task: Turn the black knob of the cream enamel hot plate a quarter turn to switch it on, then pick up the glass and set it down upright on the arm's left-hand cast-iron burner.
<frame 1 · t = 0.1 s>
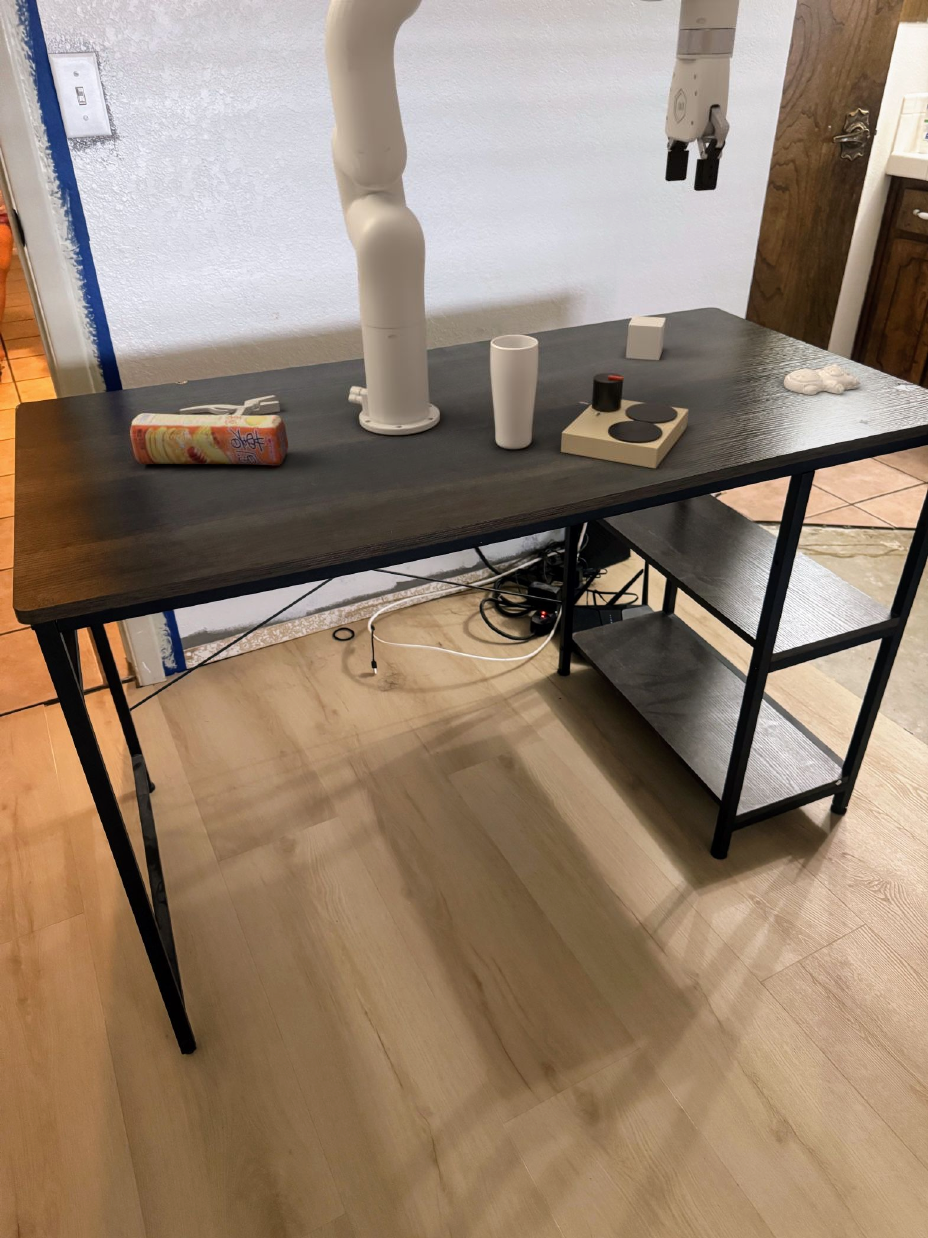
hand: (689, 184, 128), 31 cm above the table, tool pointing down, fingers open, 9 cm apart
snack package: (214, 461, 127), on the table
hot plate: (625, 439, 130), on the table
drinking glass: (513, 444, 129), on the table
burner 2: (649, 433, 131), resting on hot plate
pliers: (232, 416, 141), on the table
white cube: (644, 355, 163), on the table
hob knob: (607, 391, 131), point 5 cm above the table, hinge at 0.0°
astronaut figurine: (820, 387, 147), on the table
burner 1: (633, 452, 126), resting on hot plate
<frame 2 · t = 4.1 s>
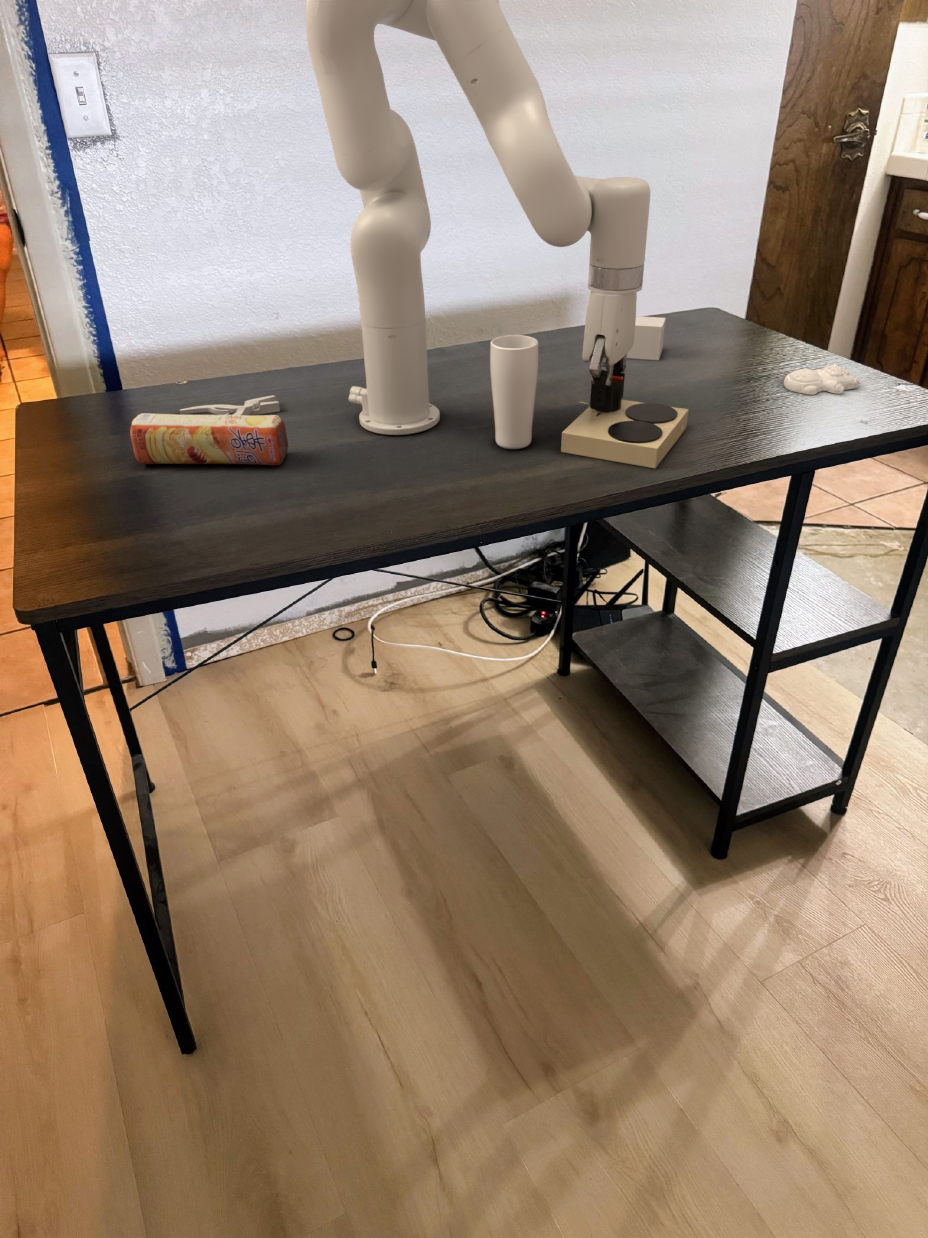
hand: (606, 402, 132), 4 cm above the table, tool pointing down, fingers closed on hob knob, 4 cm apart
hob knob: (607, 391, 131), point 5 cm above the table, hinge at 0.0°, touching gripper
everything else where it was.
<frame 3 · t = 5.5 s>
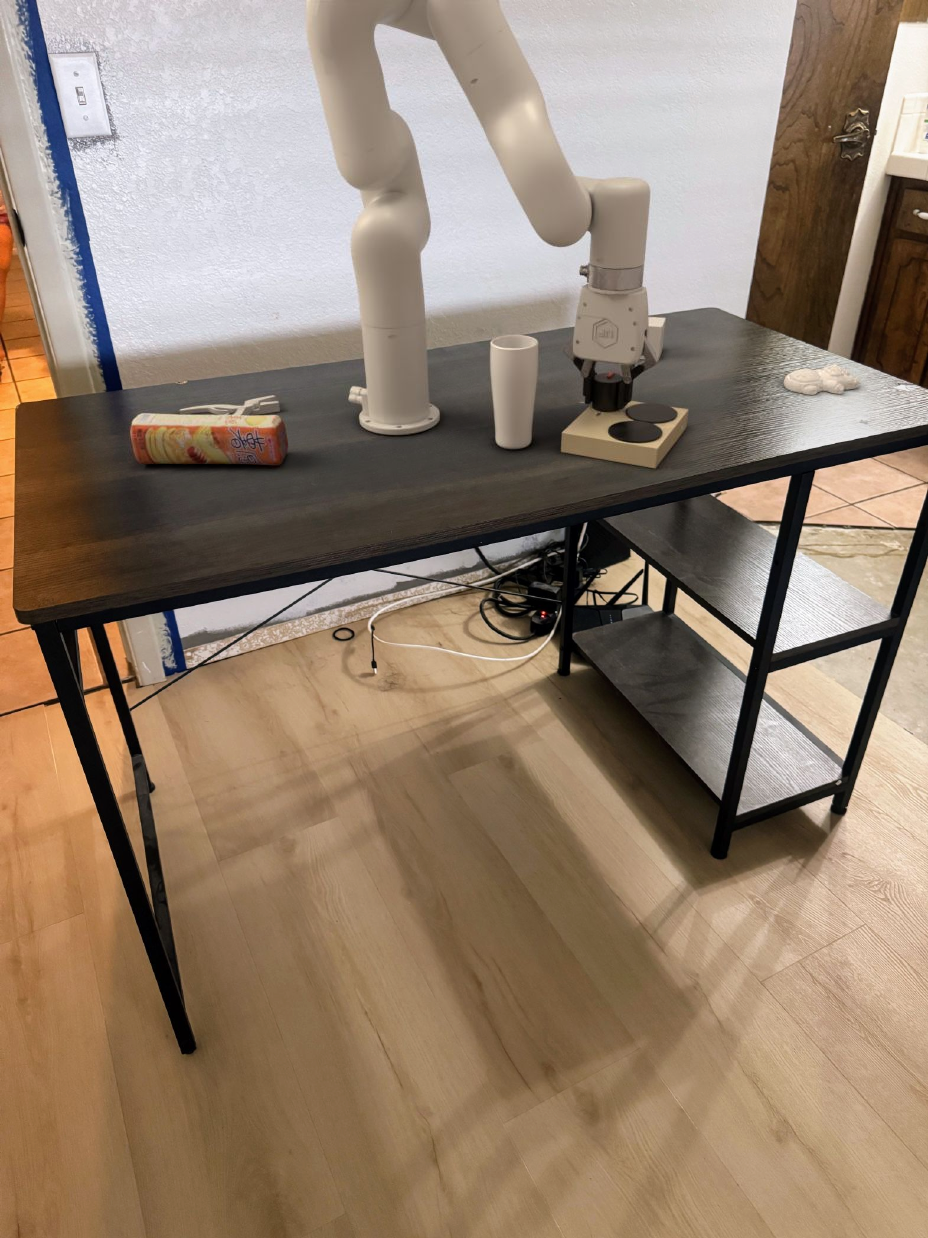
hand: (606, 402, 132), 4 cm above the table, tool pointing down, fingers closed on hob knob, 4 cm apart
hob knob: (607, 391, 131), point 5 cm above the table, hinge at 89.6°, touching gripper
everything else where it was.
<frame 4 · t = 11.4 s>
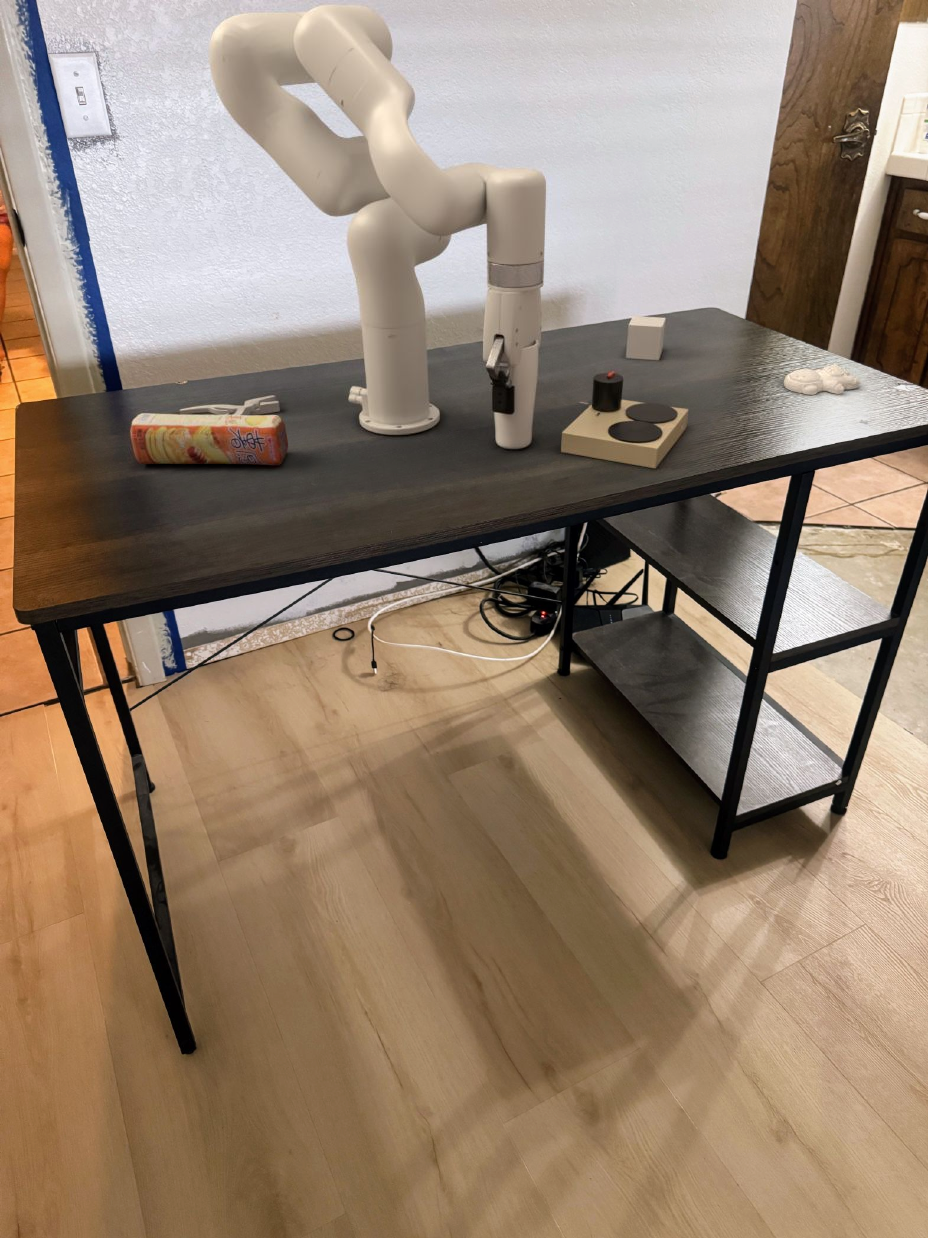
hand: (514, 402, 126), 6 cm above the table, tool pointing down, fingers closed on drinking glass, 6 cm apart
drinking glass: (513, 444, 129), on the table, touching gripper
hob knob: (607, 391, 131), point 5 cm above the table, hinge at 89.5°
everything else where it was.
when the fingers open (10 cm above the table, at t = 19.3 s): drinking glass stays where it is, resting on burner 2.
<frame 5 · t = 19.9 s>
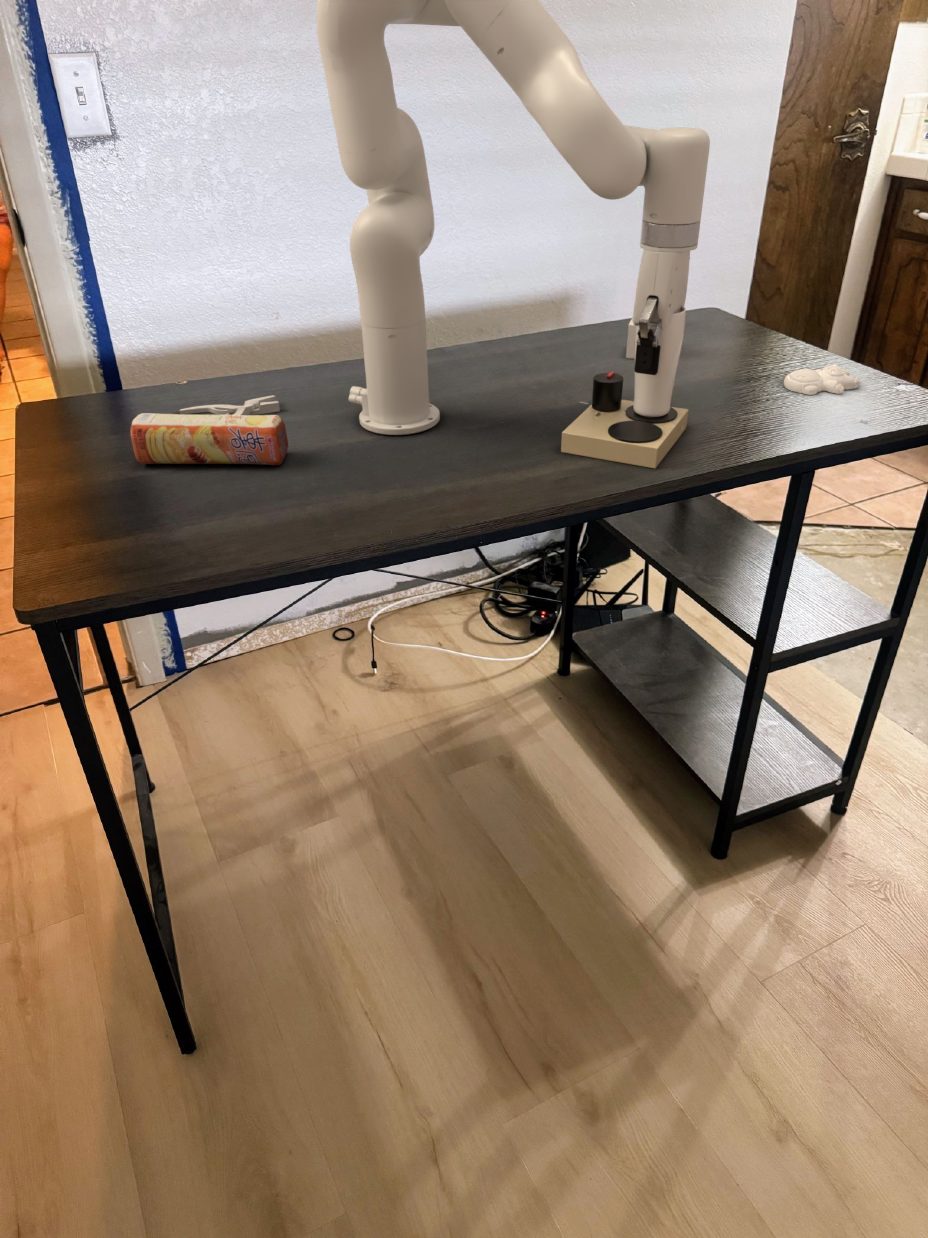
hand: (656, 362, 125), 11 cm above the table, tool pointing down, fingers open, 9 cm apart
drinking glass: (651, 413, 130), point 3 cm above the table, touching burner 2
everything else where it was.
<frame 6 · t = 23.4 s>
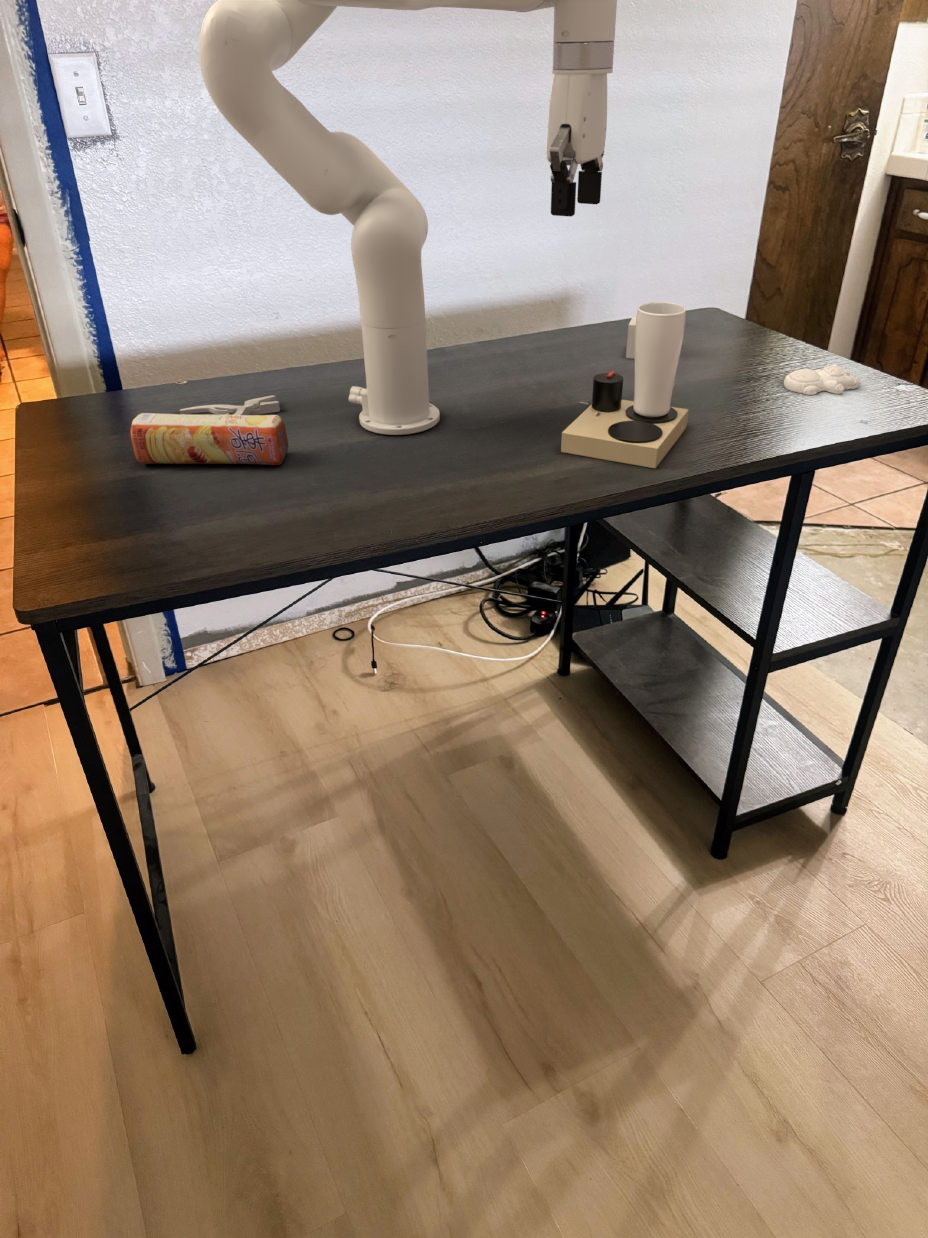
hand: (575, 209, 119), 30 cm above the table, tool pointing down, fingers open, 9 cm apart
nothing on the table moved.
at the end: hob knob at +90° (first picture: +0°); drinking glass 0.1 cm from the burner 2 (horizontally); drinking glass tilted 0° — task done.
